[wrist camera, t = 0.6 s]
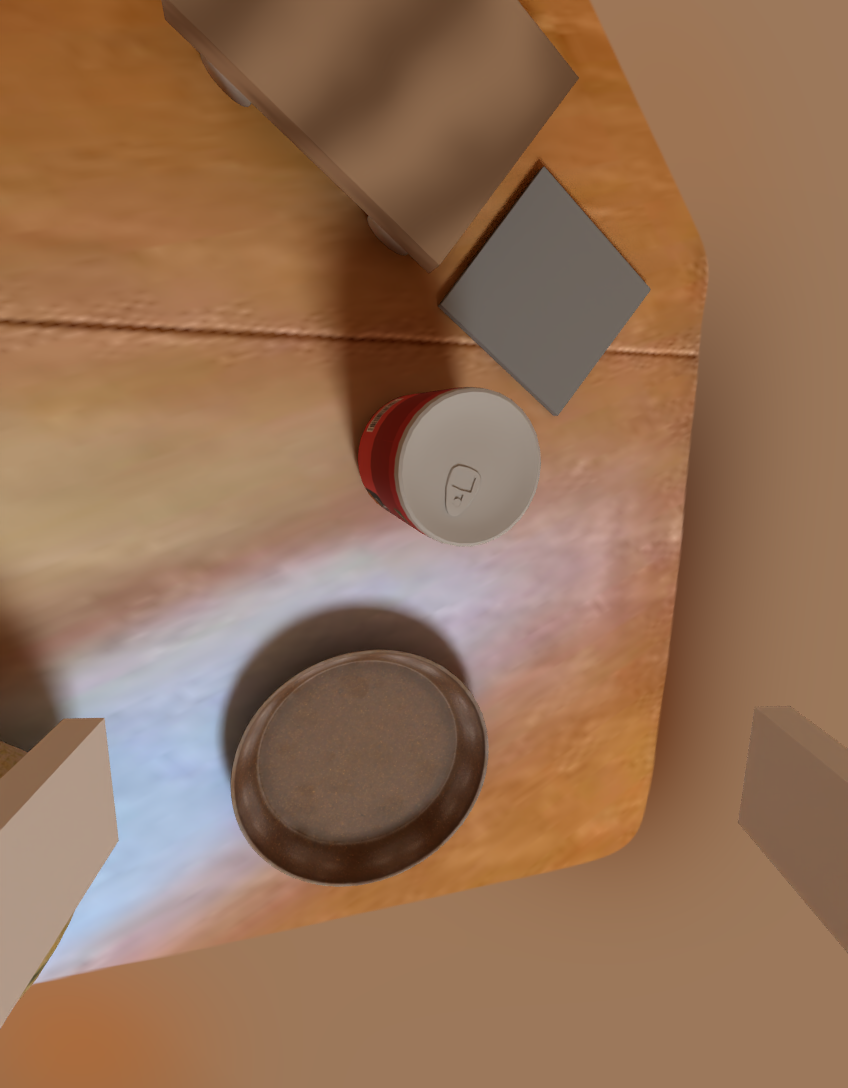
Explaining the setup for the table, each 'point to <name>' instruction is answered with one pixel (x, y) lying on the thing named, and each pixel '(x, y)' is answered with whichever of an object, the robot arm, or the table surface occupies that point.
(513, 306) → the rubber mat
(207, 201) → the table surface
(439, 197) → the walnut slab
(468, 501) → the canned food
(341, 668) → the plant saucer
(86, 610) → the table surface
